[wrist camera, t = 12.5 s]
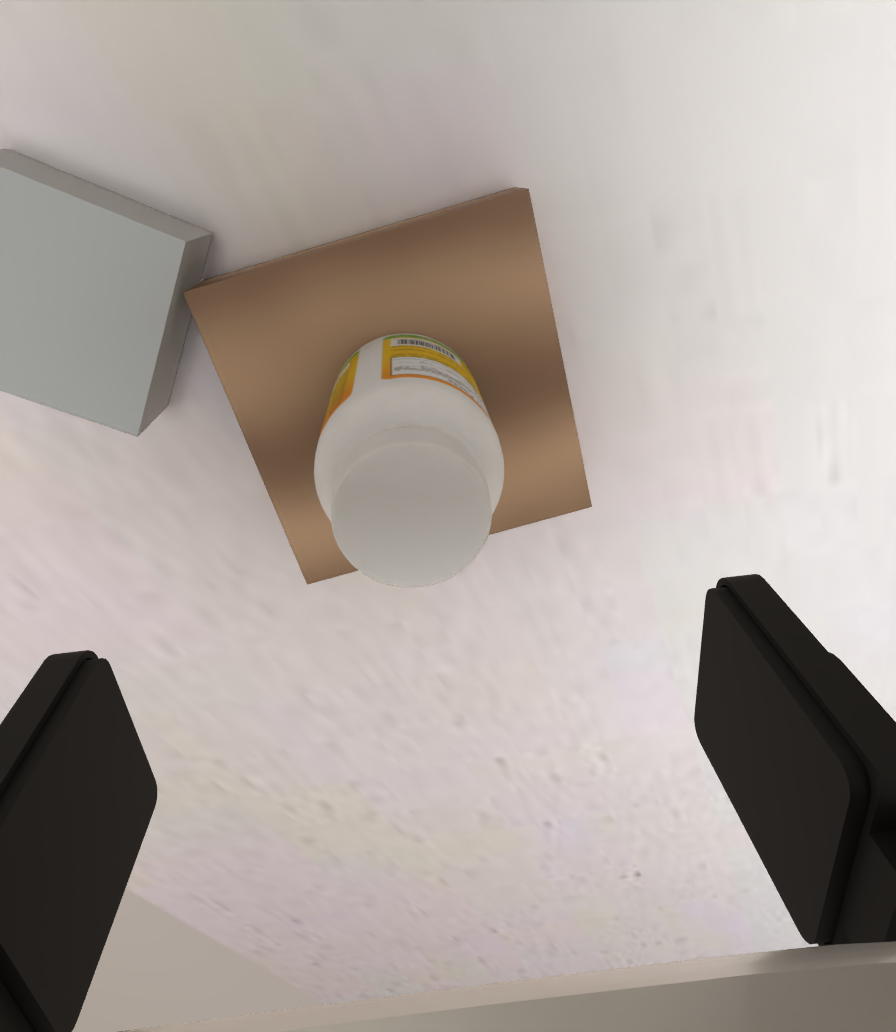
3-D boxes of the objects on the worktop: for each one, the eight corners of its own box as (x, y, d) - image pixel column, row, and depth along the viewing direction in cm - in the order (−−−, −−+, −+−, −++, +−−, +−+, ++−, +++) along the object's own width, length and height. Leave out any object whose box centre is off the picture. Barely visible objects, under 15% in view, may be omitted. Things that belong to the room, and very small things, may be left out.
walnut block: (204, 280, 26) (182, 292, 24) (514, 187, 26) (528, 188, 23) (314, 549, 32) (307, 584, 29) (574, 478, 31) (591, 506, 28)
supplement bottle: (373, 494, 27) (363, 643, 19) (304, 370, 25) (257, 473, 16) (500, 437, 27) (552, 564, 18) (442, 304, 24) (469, 375, 16)
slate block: (13, 149, 24) (-53, 145, 21) (214, 232, 26) (185, 241, 22) (-15, 339, 27) (-78, 364, 23) (169, 403, 29) (137, 436, 25)
